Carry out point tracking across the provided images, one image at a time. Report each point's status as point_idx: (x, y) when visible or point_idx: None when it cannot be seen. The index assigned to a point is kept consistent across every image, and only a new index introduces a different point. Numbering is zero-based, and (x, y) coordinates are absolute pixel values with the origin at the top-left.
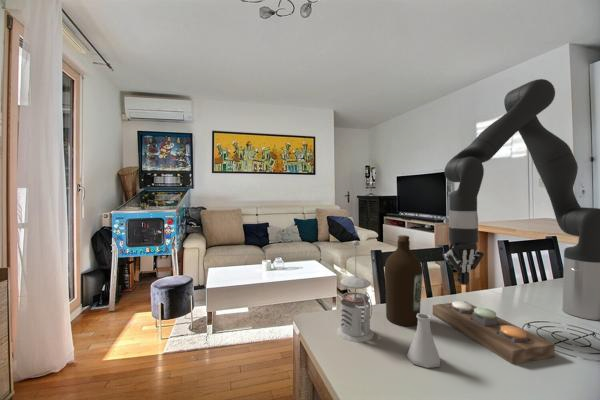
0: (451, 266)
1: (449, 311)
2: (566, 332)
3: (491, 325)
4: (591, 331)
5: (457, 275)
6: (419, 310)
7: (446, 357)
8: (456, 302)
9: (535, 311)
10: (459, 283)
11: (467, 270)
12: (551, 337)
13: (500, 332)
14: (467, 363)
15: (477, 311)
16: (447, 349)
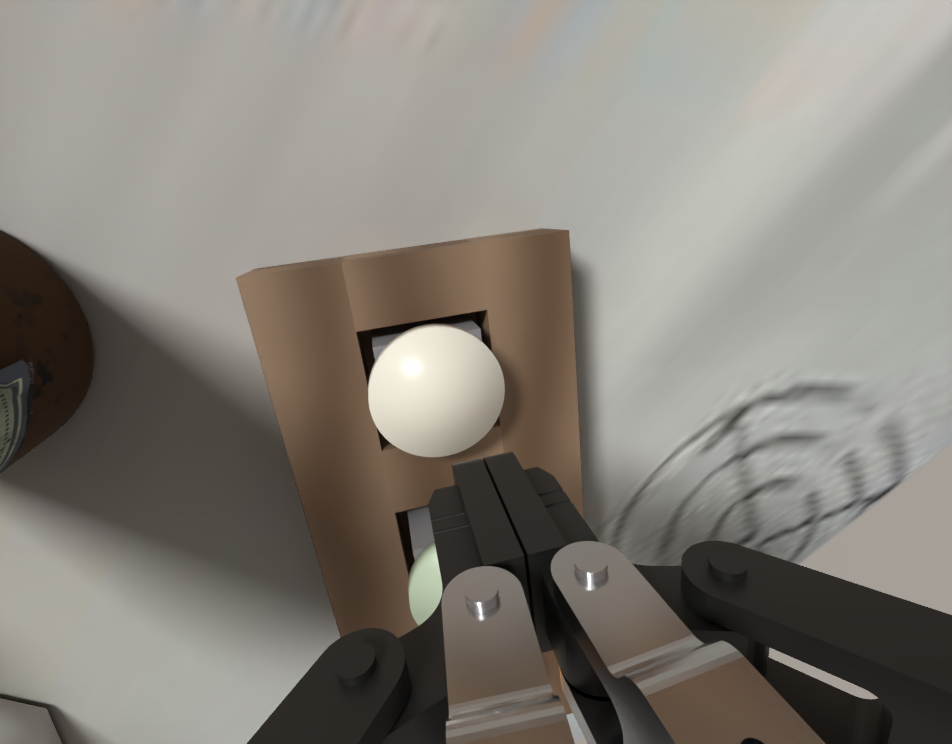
0: (299, 736)
1: (317, 412)
2: (803, 490)
3: None
4: (896, 479)
5: (437, 546)
6: (9, 463)
7: (112, 717)
8: (422, 352)
9: (918, 274)
10: (453, 472)
11: (571, 687)
12: (704, 531)
13: None
14: (193, 739)
15: (421, 597)
16: (149, 662)
